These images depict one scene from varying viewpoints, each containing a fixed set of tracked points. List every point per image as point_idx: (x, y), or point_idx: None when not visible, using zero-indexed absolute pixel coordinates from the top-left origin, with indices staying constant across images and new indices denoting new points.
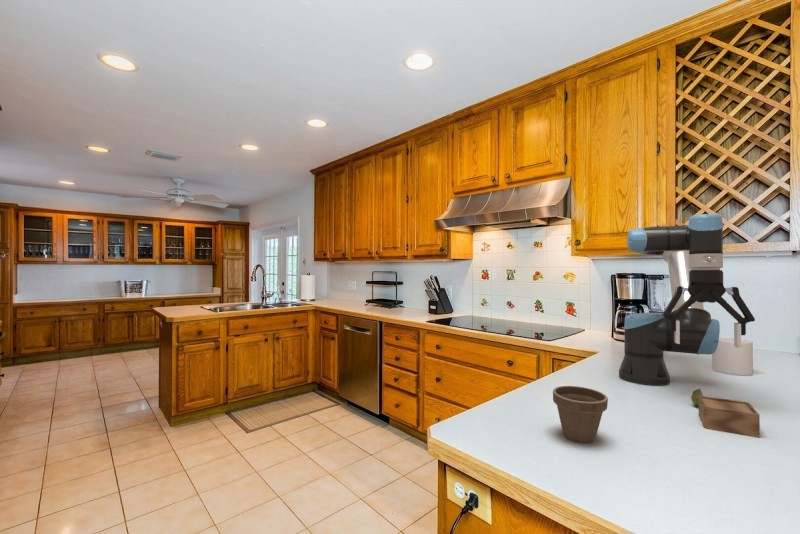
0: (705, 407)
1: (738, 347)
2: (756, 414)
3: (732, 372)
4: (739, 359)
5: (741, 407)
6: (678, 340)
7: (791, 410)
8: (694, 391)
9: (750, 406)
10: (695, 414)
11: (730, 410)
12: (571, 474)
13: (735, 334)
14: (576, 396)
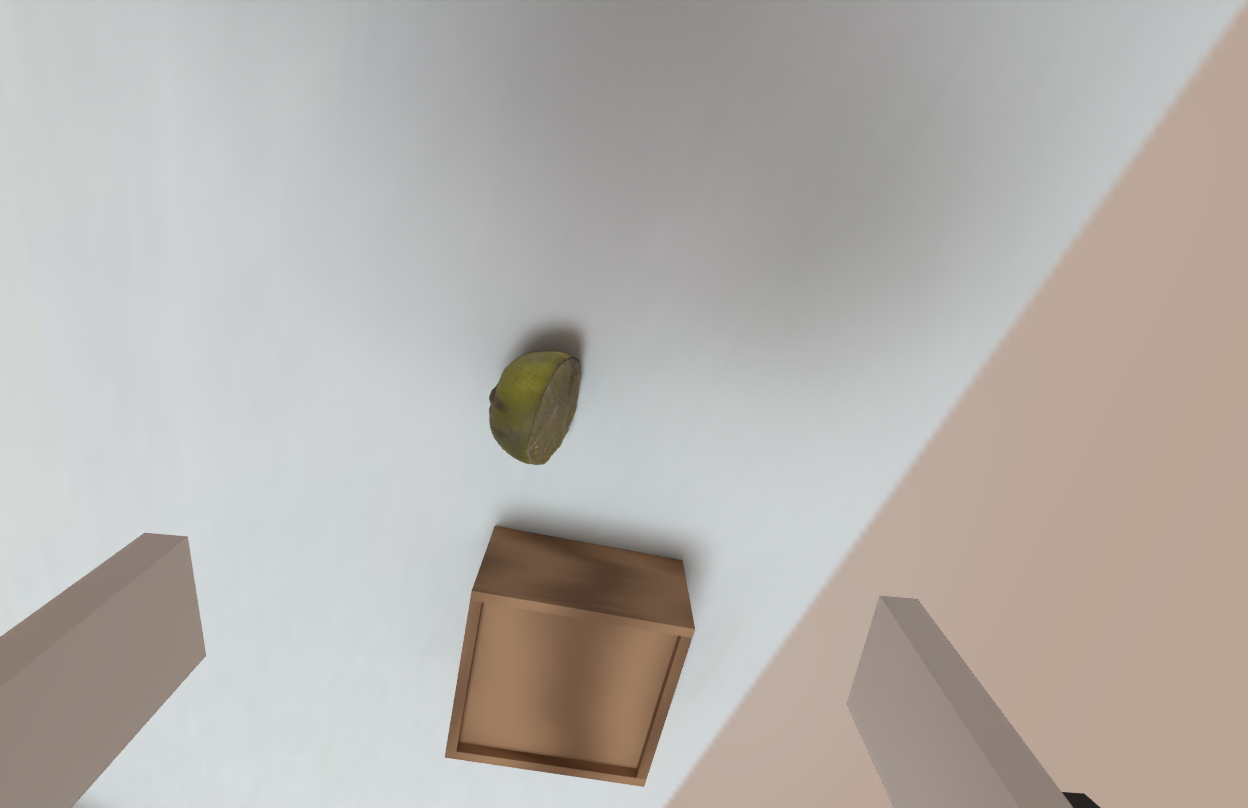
0: (452, 754)
1: (855, 707)
2: (634, 784)
3: None
4: None
5: (629, 681)
6: (156, 694)
7: (1043, 269)
8: (498, 424)
9: (666, 691)
10: (483, 518)
11: (545, 770)
12: None
13: (959, 806)
14: None
